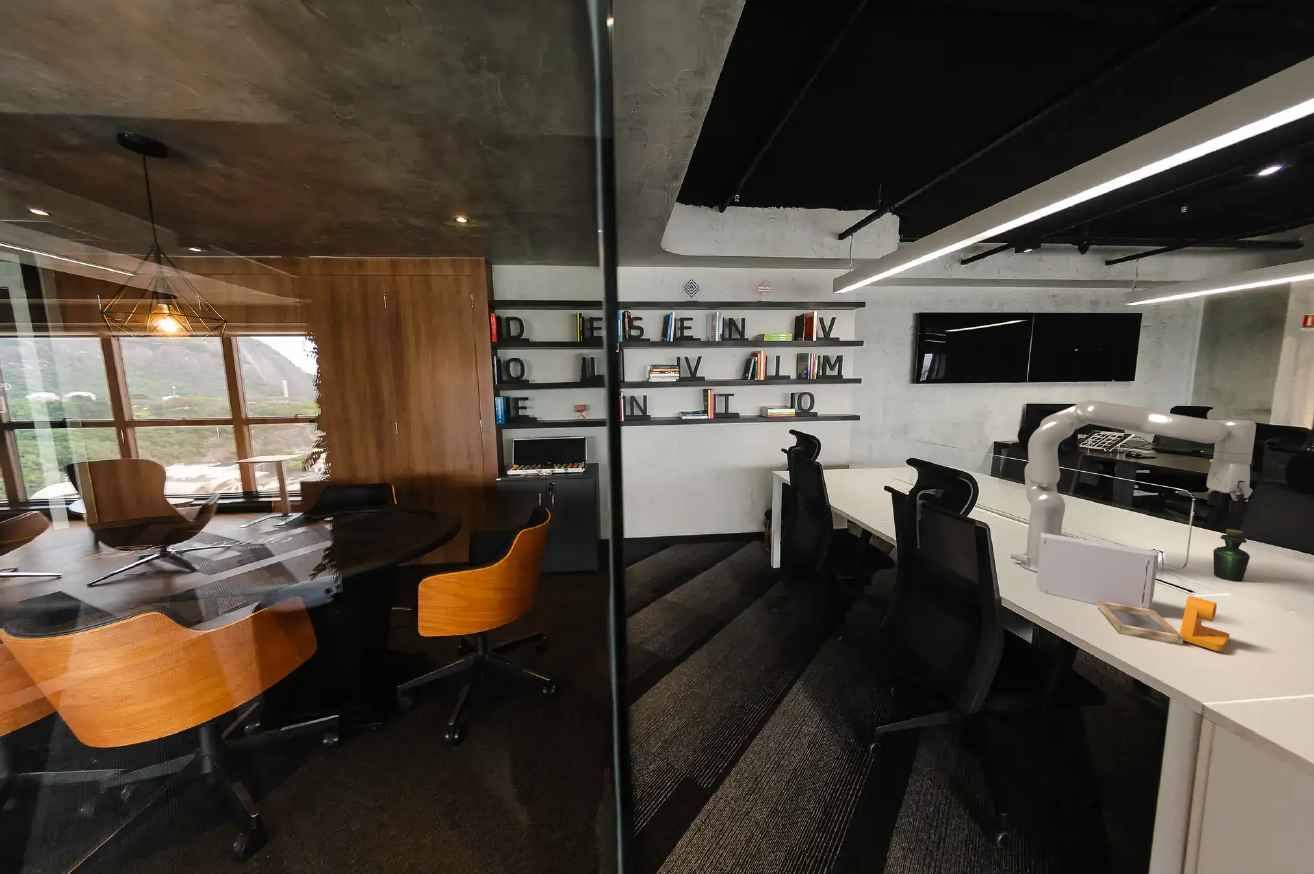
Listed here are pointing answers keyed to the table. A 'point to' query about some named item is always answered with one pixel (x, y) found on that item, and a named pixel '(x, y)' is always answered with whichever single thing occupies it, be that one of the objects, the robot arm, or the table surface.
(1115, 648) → the table surface
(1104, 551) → the game console
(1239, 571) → the potion bottle
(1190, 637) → the bracket
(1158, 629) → the wooden tray
